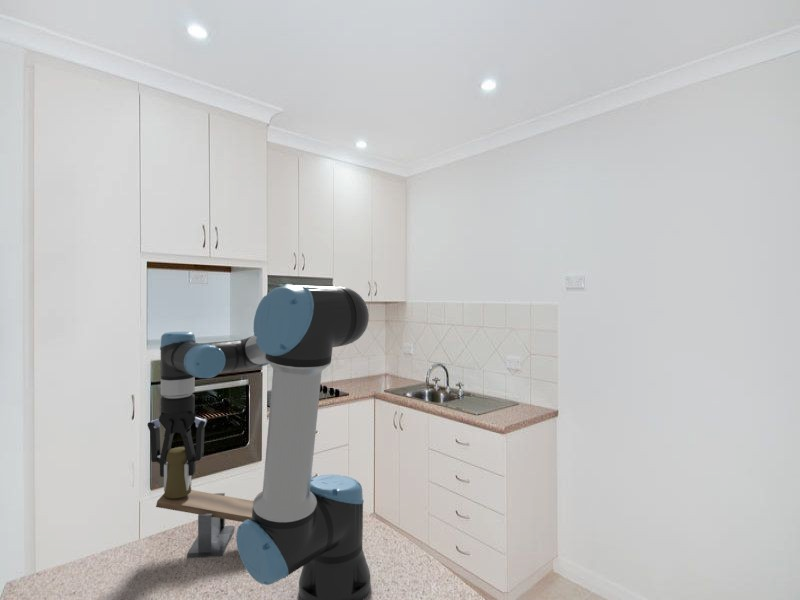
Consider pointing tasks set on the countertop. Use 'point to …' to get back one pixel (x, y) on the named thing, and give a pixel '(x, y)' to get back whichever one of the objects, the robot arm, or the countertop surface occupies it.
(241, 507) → the seesaw plank
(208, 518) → the seesaw stand
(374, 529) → the countertop surface
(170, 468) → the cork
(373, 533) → the countertop surface
